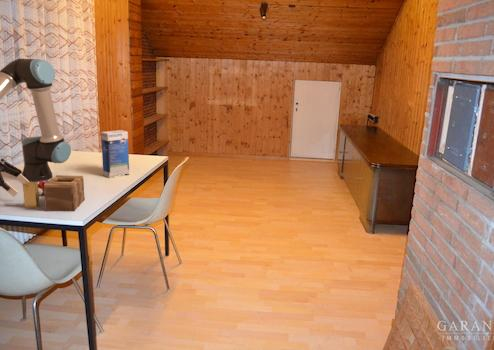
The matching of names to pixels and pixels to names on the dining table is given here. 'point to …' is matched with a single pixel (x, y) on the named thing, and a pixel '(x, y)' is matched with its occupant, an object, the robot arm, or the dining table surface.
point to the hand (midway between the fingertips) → (23, 190)
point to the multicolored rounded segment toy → (41, 187)
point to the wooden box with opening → (64, 193)
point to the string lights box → (115, 153)
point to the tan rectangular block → (31, 194)
